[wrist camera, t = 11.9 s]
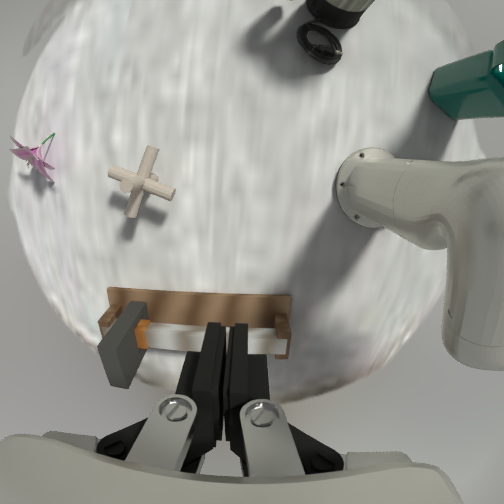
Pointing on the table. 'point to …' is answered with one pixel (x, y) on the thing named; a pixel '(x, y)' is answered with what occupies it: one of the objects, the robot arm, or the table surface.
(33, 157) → the lily
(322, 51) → the milk frother
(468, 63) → the teal bottle
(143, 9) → the table surface
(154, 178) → the pipe connector
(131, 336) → the dark grey tapered slab
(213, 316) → the pipe stand
